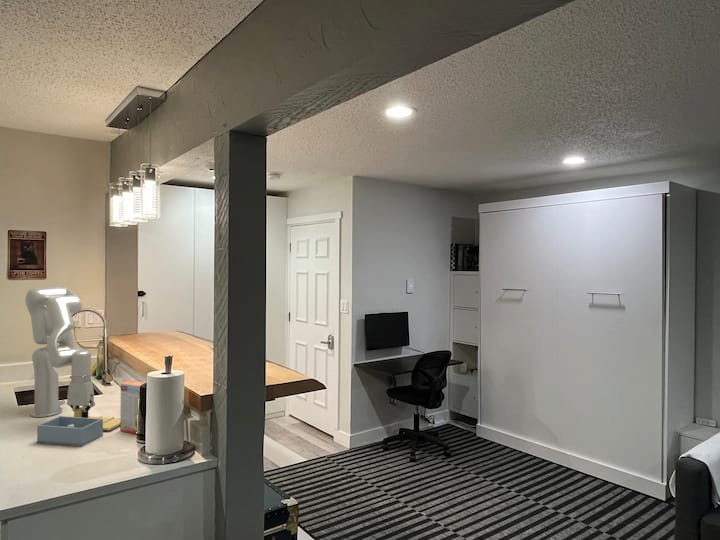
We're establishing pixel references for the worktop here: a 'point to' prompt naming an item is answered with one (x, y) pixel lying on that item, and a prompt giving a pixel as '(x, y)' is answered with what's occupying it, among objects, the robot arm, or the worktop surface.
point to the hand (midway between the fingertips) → (81, 419)
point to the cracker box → (129, 406)
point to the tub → (70, 430)
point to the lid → (107, 422)
